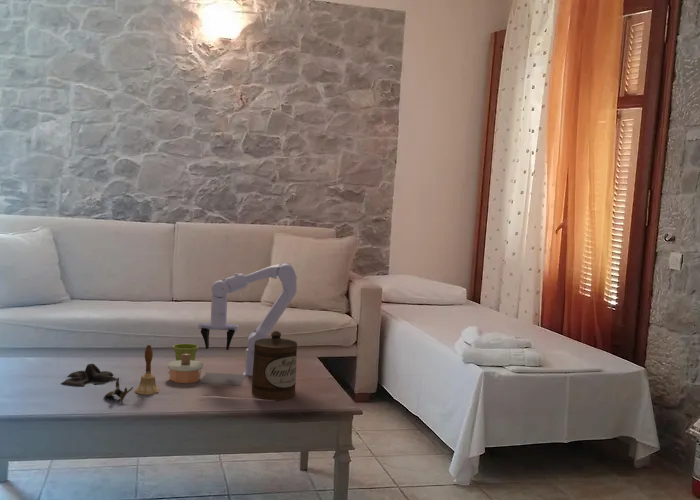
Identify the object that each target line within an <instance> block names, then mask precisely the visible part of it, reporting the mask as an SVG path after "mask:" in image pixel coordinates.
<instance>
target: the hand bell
mask: <svg viewBox="0 0 700 500" xmlns="http://www.w3.org/2000/svg"><path fill="white" fill-rule="evenodd" d="M144 359H145V360H144V361H145V373H144V374H142V375H141V377H140V382H139V385H138V386H137V387H136V388H135V389H134V393H136V394H138V395H142V396H149V395H151V396H152V395H157V394H160V393H159V392H160V388H159V387H158V385H157V382H156V376H155V375H154V374H153V373H152V360H153V349H152V345H151V344H147V345H146V347H145V350H144Z"/></svg>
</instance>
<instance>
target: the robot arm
mask: <svg viewBox="0 0 700 500" xmlns="http://www.w3.org/2000/svg"><path fill="white" fill-rule="evenodd" d="M267 278H271V279H275V280H277V279H279V281H280V282H281V285H282V290H281V292H280V294H279V295H278V298H277V299H276V300H275V301H274V303H273V304H272V306H271V307H270V308H269V311H267V313H266V315H265V316H264V318H263V319H262V320H261V322H260V323H259V325H258V326H257V327H256V328H255V329H254V330H253V331H252V332H250V333H249V334H248V336H247V348H246V349H245V363H244V364H245V365H244V371H243V374H242V375H246V376H250V377H251V376H252V375H253V362H254V344H255V341H256V340H259V339H265V338H268V337H269V335H270V334H271V331H272V330H273V328H274V327H275V325H277V322H278V321H279V319H280V318H281V316H282V315H283V313H284V312H285V311H286V310H287V308H288V306H289V304H290V303H291V302H292V300H293V299H294V297H295V296H296V294H297V280H298V279H297V278H298V277H297V274H296V271H295V270H294V267H293V265H292V264H291V263H289V262H282V263H280V264H279V263H278V264H277V263H276V264H274V265H270V266H267V267H264V268H262V269H259V270H257V271H254V272H251V273H249V274H244V273H238V272H236V273H234V275H232V276H229V277H227V278H226V277H223V278H222V280H216V281H215V282H214V283H212V287H211V293H212V294H211V301H210V303H211V305H210V313H211V314H210V322H201V323H200V322H199V323H198V327H197V328H198V330H200V334H201V335H202V338H203V341H204V342H203V343H204V346H205V350H208V349H209V346H210V340H209V339H210V331H211V330H217V331H226V347H225V349H226V351H229V350H230V345H231V341H232V340H233V337H234V335H235V332H238V331H239V325H238V324H231V323H230V324H229V323H227V313H228V311H227V310H228V307H227V306H228V301H227V295H228V294H232V293H235V292H238V291H241V290H244V289H246V288H247V287H248V286H249V284H251V283H254V282H258V281H261V280H264V279H267Z"/></svg>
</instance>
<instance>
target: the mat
mask: <svg viewBox="0 0 700 500" xmlns="http://www.w3.org/2000/svg"><path fill="white" fill-rule="evenodd" d="M246 377H247V375H243V374H241V373H223V372H221V373H220V372H205V373H204V374H203V376H202V377H201V378H200V379H199V381H197V384H204V385H205V384H206V385H207V384H208V385H220V386H221V385H224V386H239V387H240V386H241V385H242V384H243V382H244V380H245V379H246Z"/></svg>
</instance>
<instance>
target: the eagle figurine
mask: <svg viewBox="0 0 700 500" xmlns="http://www.w3.org/2000/svg"><path fill="white" fill-rule="evenodd" d="M116 378H117V380H116V381H115V389H114V390H112V391H109V392H107V393H106V394H105V395H104V396H103V398H105V397H111V396H114V395H115V396H117V397H118V398H120V400H121V401H120V402H121V403H123V400H124V399H125V397H126V396H127V394H129V392H131V391H132V390H133V389H134V386H132V387H131V388H129V390H128V388H127V387H124V390H121V389H120V378H119V377H116Z"/></svg>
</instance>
